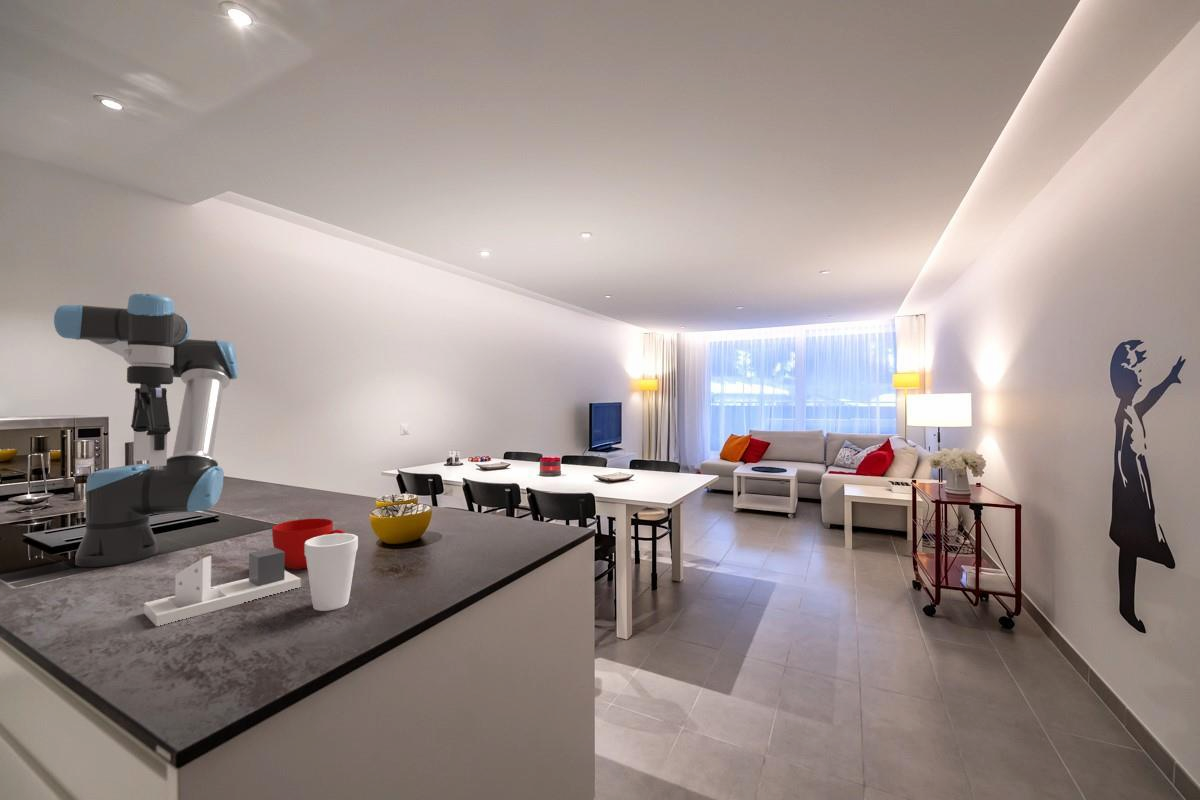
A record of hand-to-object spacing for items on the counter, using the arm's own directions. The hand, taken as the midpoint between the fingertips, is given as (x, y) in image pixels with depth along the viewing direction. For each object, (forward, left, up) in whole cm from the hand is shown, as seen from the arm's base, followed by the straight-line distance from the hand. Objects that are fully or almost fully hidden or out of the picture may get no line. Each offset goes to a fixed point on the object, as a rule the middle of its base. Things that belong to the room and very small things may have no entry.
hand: (149, 463), depth 109 cm
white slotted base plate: (+23, +8, -27) cm, 36 cm away
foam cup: (+41, +20, -27) cm, 53 cm away
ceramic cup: (+13, +28, -27) cm, 41 cm away
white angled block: (+22, +3, -27) cm, 35 cm away
